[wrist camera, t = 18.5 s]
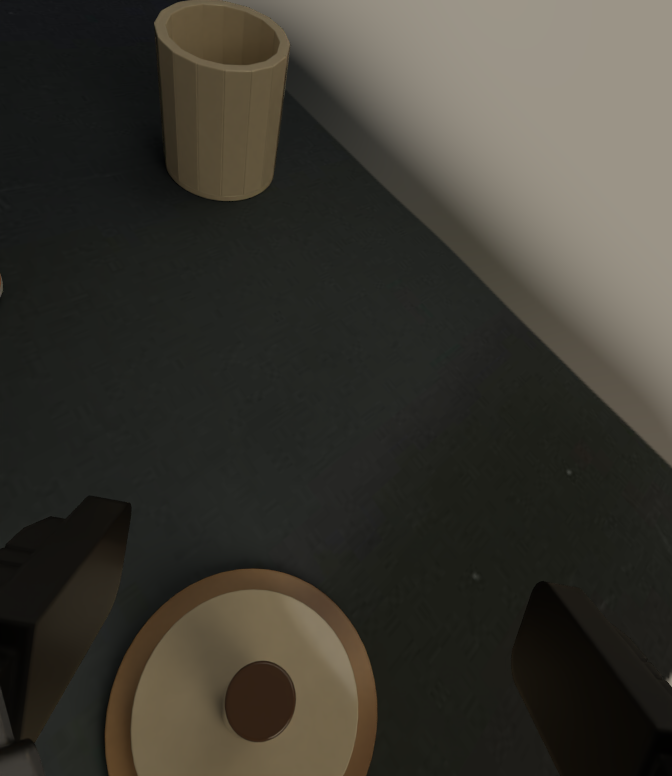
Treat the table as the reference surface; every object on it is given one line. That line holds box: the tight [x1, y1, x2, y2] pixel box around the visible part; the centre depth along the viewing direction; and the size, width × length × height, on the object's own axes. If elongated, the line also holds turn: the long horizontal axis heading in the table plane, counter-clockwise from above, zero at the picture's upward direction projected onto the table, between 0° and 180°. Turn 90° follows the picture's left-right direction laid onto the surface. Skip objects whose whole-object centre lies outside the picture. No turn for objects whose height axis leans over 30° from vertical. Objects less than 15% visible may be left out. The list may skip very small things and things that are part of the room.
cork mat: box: [105, 568, 377, 776], centre depth 21 cm, size 10×10×1 cm
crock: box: [154, 0, 290, 201], centre depth 33 cm, size 7×7×8 cm
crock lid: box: [130, 589, 358, 776], centre depth 18 cm, size 8×8×6 cm
